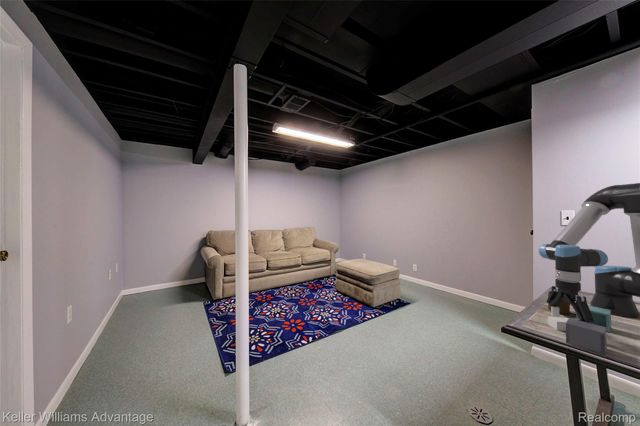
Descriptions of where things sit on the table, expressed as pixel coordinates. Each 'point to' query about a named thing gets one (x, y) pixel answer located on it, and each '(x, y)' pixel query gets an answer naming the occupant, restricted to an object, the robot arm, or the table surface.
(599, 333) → the charcoal cap
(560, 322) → the slat
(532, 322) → the table surface
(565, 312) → the mug
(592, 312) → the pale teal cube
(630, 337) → the table surface
